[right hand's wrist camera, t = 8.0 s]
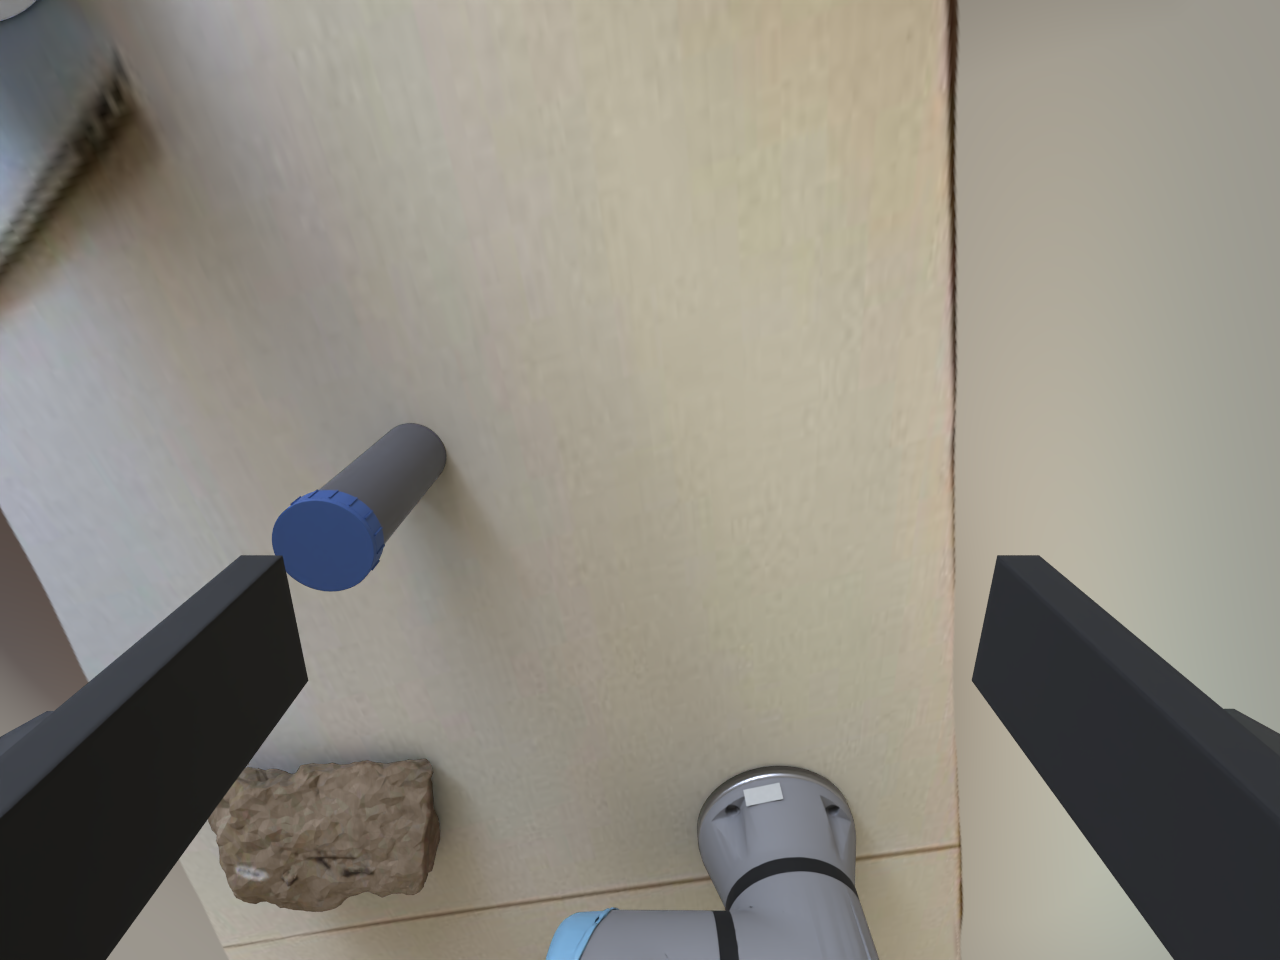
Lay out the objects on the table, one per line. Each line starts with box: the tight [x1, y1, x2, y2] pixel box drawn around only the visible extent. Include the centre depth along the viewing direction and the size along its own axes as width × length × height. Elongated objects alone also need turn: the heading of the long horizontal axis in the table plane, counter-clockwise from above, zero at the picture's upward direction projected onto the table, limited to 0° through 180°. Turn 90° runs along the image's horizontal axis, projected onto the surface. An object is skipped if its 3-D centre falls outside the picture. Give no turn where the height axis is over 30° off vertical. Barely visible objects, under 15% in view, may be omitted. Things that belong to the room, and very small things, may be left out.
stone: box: [208, 759, 440, 912], centre depth 65 cm, size 21×15×6 cm
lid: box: [272, 490, 385, 591], centre depth 40 cm, size 6×6×2 cm
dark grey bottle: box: [319, 423, 446, 544], centre depth 47 cm, size 5×5×16 cm
